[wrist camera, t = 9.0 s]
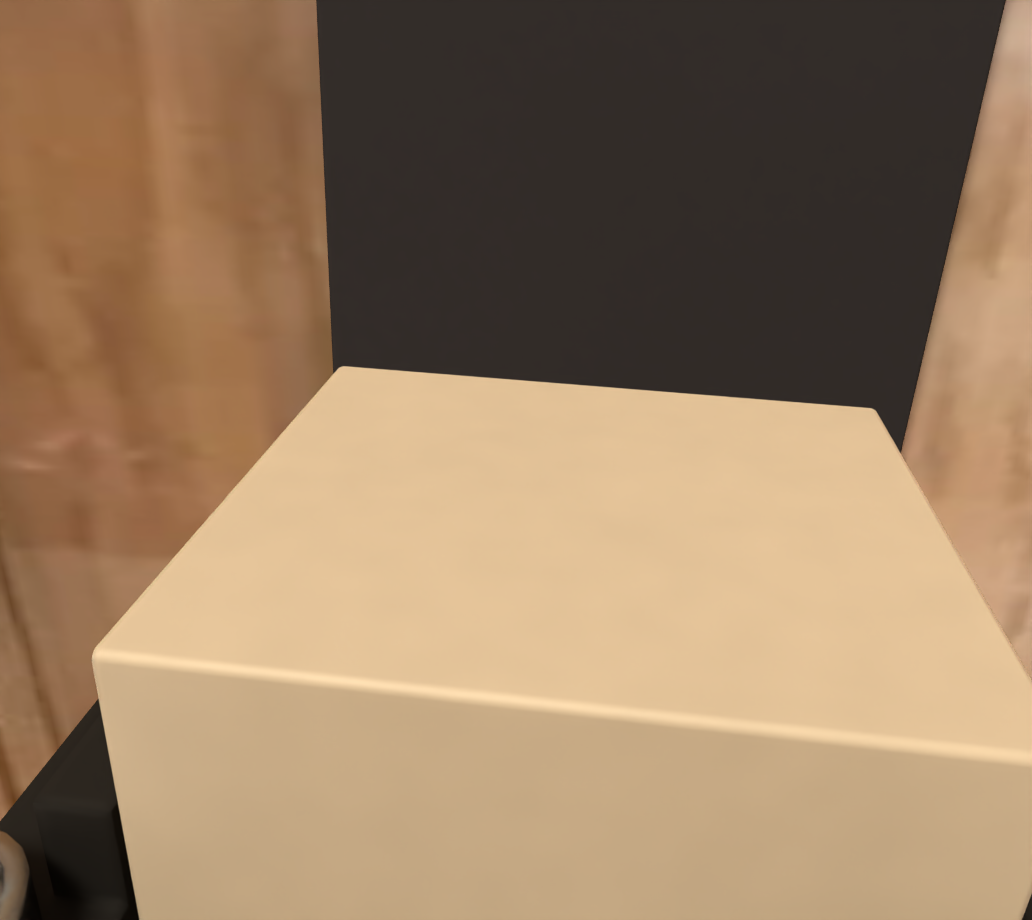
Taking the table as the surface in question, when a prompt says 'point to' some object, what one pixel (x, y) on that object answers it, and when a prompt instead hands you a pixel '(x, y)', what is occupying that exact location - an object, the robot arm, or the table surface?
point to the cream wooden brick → (569, 672)
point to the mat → (649, 189)
